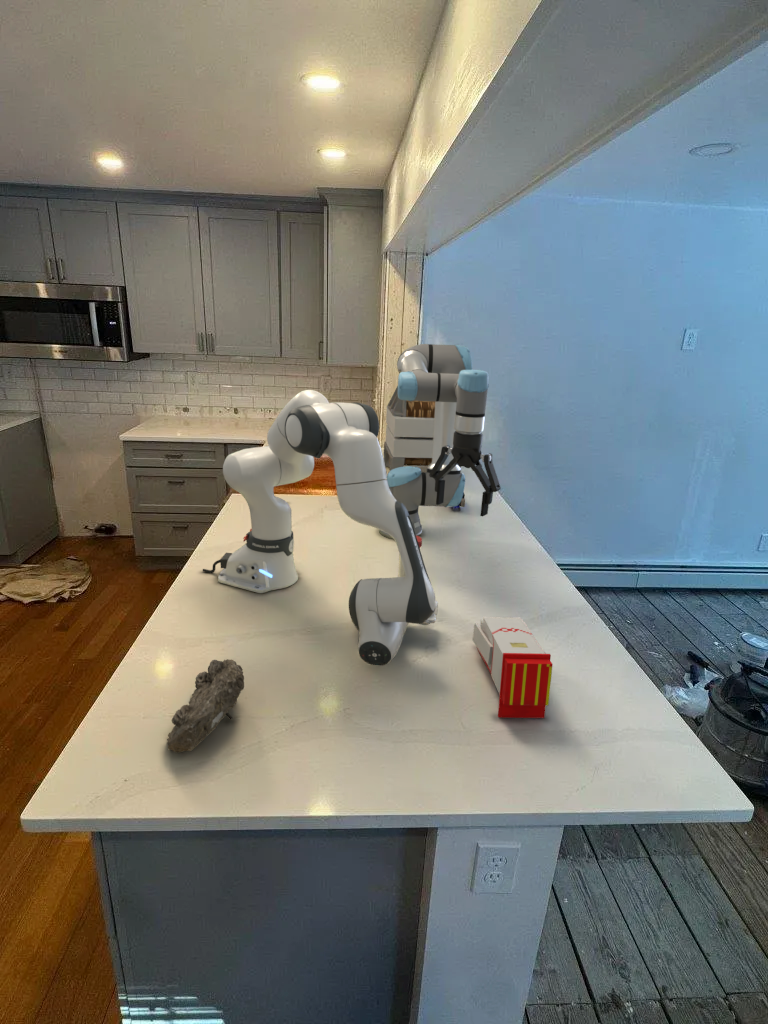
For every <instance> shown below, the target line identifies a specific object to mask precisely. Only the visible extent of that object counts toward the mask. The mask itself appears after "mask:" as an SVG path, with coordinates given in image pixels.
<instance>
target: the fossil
mask: <svg viewBox="0 0 768 1024" xmlns="http://www.w3.org/2000/svg"><path fill="white" fill-rule="evenodd" d="M243 670H244V669H243V667H242V665H240V664H237V662H236V661H235V660H234V659H232V658H231V659H227V658H226V659H224V660H223V661H222V660H217V659H212V660H211V661H210V663H209V665H208V666H207V671H201V672H199V673H198V674H197V675H196V676H195V680H194V684H195V685H194V687H195V689H194V690H193V693H192V694H191V697H190V698H189V700H188V704H184V705H182V706H181V707H180V709H177V710H176V711H175V713H174V715H173V716H172V718H171V723H172V724H173V727H172V730H171V731H170V732H168V734H167V738H166V741H167V742H166V745H167V749H168V750H169V751H173V752H174V753H176V754H178V753H182V752H188V751H189V752H192V751H193V750H195V748H196V747H197V746H199V744H200V743H201V742H203V741H204V740H205V739H206V738H207V737H208V736H209V735H210V734H211V733H212V732H214V730H215V729H217V727H218V726H219V724H220V722H221V721H222V720H223V719H224V718H225V716H226V717H227V719H229V720H233V717H232V715H230V714H229V710H230V709H231V708H234V706H235V704H236V703H237V702H238V699H239V697H240V695H241V693H242V691H243V690H245V689H244V688H245V675H244V671H243Z"/></svg>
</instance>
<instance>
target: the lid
mask: <svg viewBox="0 0 768 1024" xmlns="http://www.w3.org/2000/svg"><path fill="white" fill-rule="evenodd" d="M416 537H417V541H418V544H419V548H420V549H421V548H422V547H423V546H422V545H423V538H422V537H421V536H420V537H419V536H416Z"/></svg>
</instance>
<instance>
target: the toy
mask: <svg viewBox="0 0 768 1024" xmlns="http://www.w3.org/2000/svg"><path fill="white" fill-rule="evenodd" d="M482 617H483V618H482V619H480V624H478V623H477V622H474V625H473V633H472V641H473V643H474V645H475V647H476V649H477V651H478V653H479V655H480V656H481V658H482V660H483V663H484V664H485V666H486V668H487V670H488V673H489V674H490V675H491V676H490V677H491V679H492V680H493V683H494V685H495V688H496V690H497V692H498V694H499V696H498V697H499V698H498V707H497V708H498V711H497V718H500V719H501V718H504V719H505V718H507V719H509V718H511V719H513V718H514V719H545V716H546V715H545V714H546V706H549V703H550V693H551V684H552V683H551V682H552V673H553V662H552V661H551V653H545V651H544V649H543V647H542V646H541V645H540V643H539V642H538V640H537V639H536V638H535V636H534V635H533V633H532V631H531V630H530V629H529V627H528V624H527V622H525V621H524V620H523V619H522V617H511V616H510V617H508V616H507V617H504V616H482Z"/></svg>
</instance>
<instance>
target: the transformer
mask: <svg viewBox="0 0 768 1024" xmlns="http://www.w3.org/2000/svg"><path fill="white" fill-rule="evenodd" d="M385 414H386V415H385V423H386V428H385V438H384V442H383V458H384V462H385V467H388V468H389V472H390V471H391V470H392V469H395V468H398V467H405V466H413V467H428V466H429V465H430V464H431V463H432V451H433V433H434V415H435V401H408V400H401V399H399V398H398V385H397V386H396V388H395V390H394V392H393V394H392V395H391V398H390V400H389V402H388V404H387V405H386V413H385ZM459 467H460V466H459ZM460 468H461V469H462V467H460Z"/></svg>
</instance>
